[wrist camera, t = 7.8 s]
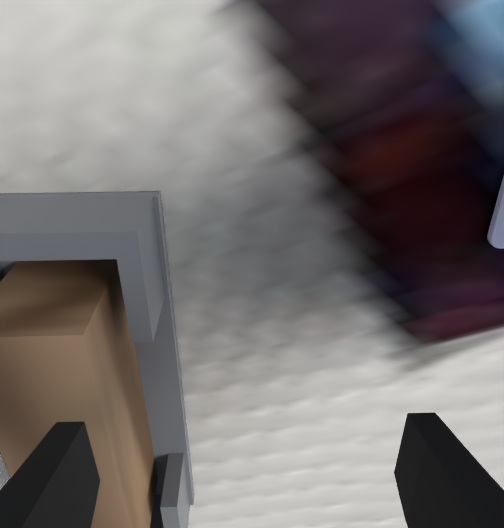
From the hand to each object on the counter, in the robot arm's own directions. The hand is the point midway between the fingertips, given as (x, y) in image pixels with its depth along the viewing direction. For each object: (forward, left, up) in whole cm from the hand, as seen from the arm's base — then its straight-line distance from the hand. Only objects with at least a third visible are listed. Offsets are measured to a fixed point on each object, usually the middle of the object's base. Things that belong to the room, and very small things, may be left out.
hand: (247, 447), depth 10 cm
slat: (+7, +7, -9) cm, 14 cm away
